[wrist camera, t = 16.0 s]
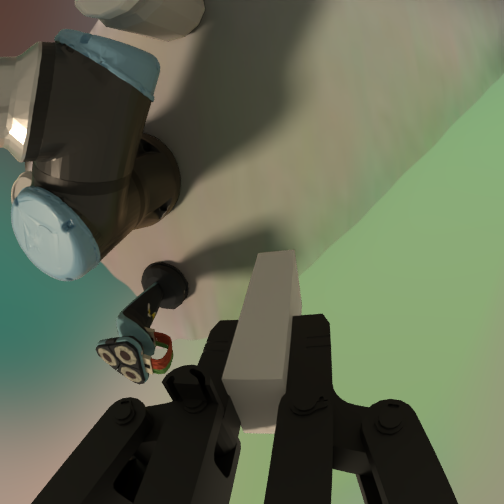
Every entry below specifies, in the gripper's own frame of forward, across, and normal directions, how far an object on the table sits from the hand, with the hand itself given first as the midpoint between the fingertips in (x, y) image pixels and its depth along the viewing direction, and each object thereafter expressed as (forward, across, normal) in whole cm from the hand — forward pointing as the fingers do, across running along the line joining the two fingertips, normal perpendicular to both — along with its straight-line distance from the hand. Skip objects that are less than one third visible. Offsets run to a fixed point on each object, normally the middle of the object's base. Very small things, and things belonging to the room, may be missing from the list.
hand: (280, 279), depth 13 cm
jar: (+33, -13, +24) cm, 43 cm away
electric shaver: (+33, -25, -20) cm, 46 cm away
